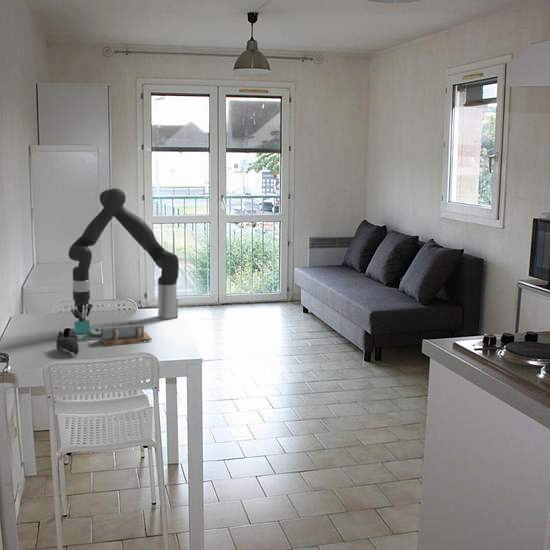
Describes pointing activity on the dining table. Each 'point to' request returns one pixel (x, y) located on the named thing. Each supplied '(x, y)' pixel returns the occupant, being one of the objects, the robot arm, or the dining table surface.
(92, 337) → the gray base plate
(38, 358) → the dining table surface
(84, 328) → the teal handled round piece
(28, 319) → the dining table surface
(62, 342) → the figurine
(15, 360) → the dining table surface
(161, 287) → the robot arm
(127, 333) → the bar
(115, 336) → the peg rack
